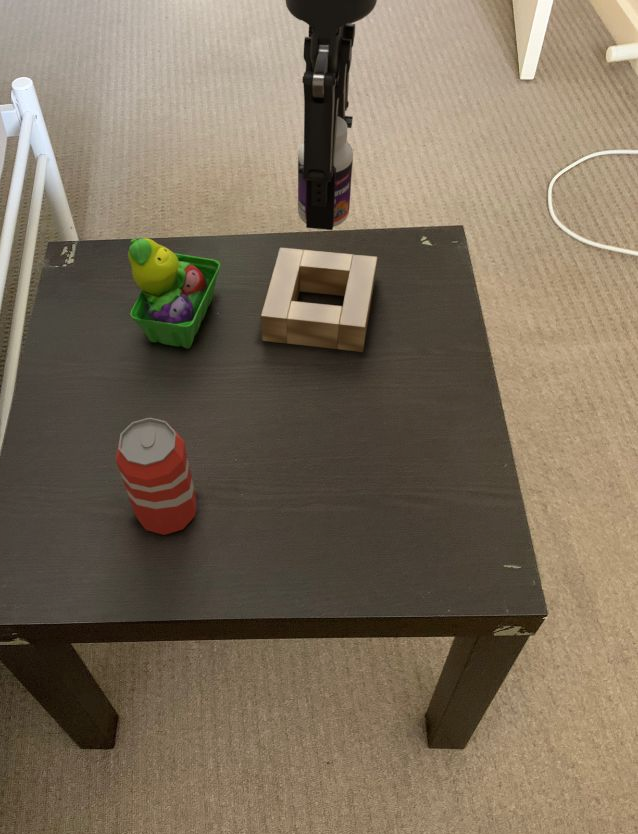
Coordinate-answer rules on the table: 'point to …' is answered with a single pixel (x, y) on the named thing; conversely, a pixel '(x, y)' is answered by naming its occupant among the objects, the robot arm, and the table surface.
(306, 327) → the block
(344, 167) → the pill bottle
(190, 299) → the fruit basket
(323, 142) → the robot arm
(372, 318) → the table surface
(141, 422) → the beverage can
